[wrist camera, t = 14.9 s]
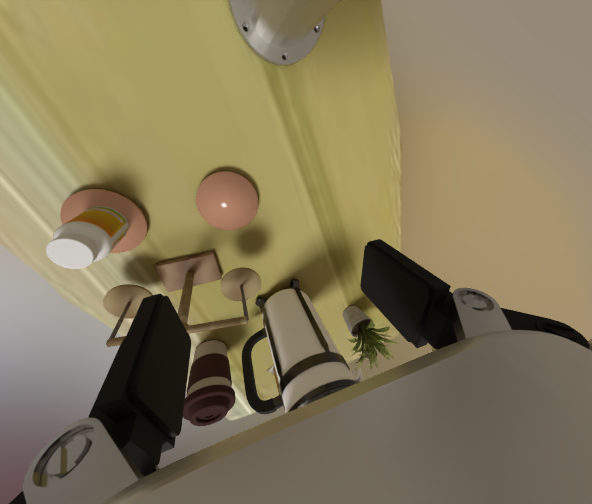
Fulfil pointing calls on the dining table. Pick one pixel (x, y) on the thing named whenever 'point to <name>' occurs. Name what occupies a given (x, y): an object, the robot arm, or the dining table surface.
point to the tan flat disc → (115, 201)
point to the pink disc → (227, 200)
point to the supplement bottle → (87, 237)
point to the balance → (185, 291)
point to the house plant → (365, 334)
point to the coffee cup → (209, 385)
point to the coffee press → (296, 353)
